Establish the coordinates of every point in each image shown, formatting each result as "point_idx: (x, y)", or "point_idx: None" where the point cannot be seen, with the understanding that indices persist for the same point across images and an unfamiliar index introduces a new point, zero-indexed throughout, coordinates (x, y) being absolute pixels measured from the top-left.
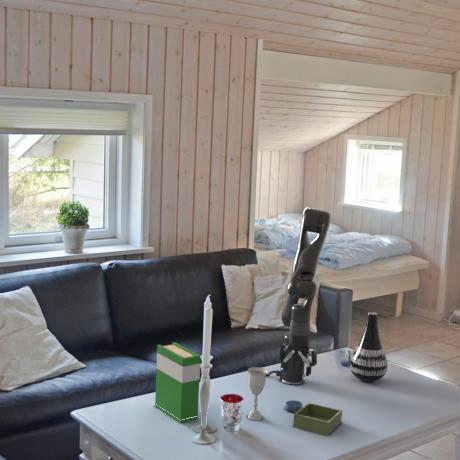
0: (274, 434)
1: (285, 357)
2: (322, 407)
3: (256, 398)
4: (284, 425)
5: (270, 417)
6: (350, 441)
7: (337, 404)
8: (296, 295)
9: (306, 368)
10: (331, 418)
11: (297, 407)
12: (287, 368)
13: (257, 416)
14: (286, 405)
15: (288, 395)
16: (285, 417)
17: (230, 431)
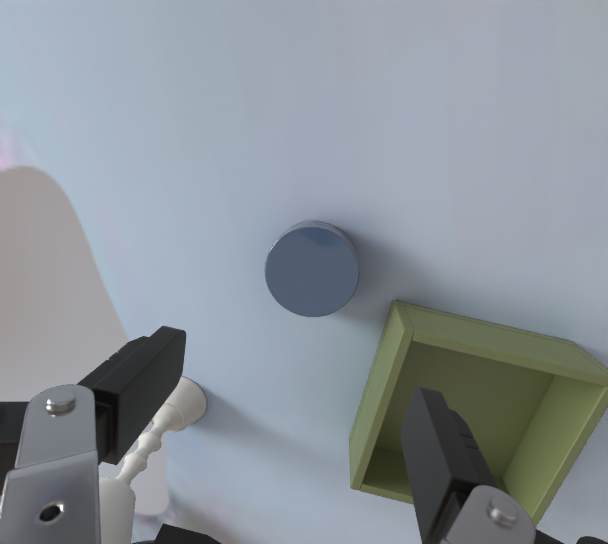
0: (295, 511)
1: (6, 459)
2: (492, 357)
3: (134, 476)
4: (312, 436)
5: (237, 382)
6: (601, 500)
7: (564, 75)
8: None
9: (421, 521)
10: (548, 492)
11: (338, 309)
12: (164, 386)
13: (190, 424)
14: (276, 297)
15: (236, 56)
16: (297, 363)
17: (151, 522)
